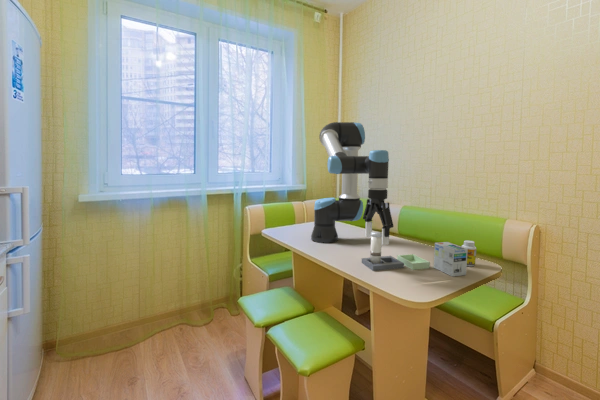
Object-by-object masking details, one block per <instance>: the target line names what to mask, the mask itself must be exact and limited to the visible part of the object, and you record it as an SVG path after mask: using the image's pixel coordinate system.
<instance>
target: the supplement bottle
mask: <svg viewBox="0 0 600 400" xmlns="http://www.w3.org/2000/svg"><path fill="white" fill-rule="evenodd" d="M461 247H464V248H468V252H467V267H474V266H475V265H476V256H477V247H476V246H475V241H474V240H469V239H468V240H467V239H466V240H464V241H463V244H462V245H461Z"/></svg>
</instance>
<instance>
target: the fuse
mask: <svg viewBox="0 0 600 400" xmlns="http://www.w3.org/2000/svg"><path fill="white" fill-rule="evenodd" d="M381 257H382V231H372V232H371V237H370V256H369V258H370V263H372V264H381Z"/></svg>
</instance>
